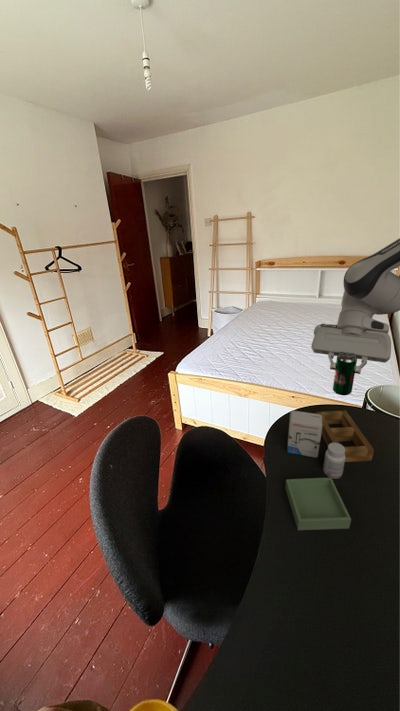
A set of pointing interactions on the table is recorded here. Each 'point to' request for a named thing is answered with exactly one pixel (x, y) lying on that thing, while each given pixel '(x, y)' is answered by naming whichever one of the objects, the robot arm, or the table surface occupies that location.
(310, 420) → the ink box
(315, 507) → the tray
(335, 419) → the rack
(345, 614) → the table surface
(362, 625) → the table surface
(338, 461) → the pill bottle
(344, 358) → the soda can
